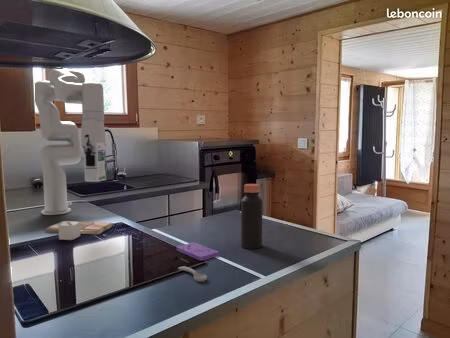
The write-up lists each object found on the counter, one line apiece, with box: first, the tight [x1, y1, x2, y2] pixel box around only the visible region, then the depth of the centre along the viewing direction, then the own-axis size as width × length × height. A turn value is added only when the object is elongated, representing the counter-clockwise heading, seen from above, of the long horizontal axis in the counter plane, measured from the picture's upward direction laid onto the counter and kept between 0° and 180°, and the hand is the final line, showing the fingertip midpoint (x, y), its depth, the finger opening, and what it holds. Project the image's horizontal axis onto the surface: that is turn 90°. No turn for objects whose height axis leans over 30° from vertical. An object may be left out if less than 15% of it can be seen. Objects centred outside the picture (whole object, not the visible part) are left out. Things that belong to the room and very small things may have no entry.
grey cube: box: [58, 221, 81, 241], centre depth 124 cm, size 5×5×5 cm
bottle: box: [240, 183, 263, 250], centre depth 113 cm, size 7×7×20 cm
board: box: [44, 220, 114, 235], centre depth 136 cm, size 12×21×2 cm, turn 82°
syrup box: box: [82, 142, 108, 183], centre depth 132 cm, size 6×6×14 cm
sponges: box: [176, 241, 220, 261], centre depth 108 cm, size 7×13×2 cm, turn 42°
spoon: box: [177, 265, 208, 283], centre depth 91 cm, size 3×12×2 cm, turn 36°
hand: (95, 164), depth 132 cm, fingers closed on syrup box, 5 cm apart
